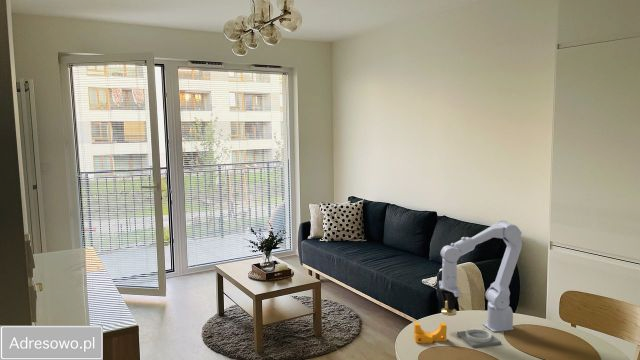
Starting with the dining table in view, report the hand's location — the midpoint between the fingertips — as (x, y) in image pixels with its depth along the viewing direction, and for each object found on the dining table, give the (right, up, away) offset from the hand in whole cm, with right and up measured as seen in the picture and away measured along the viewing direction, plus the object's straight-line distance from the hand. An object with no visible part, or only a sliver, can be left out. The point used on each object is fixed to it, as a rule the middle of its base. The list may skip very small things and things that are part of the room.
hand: (448, 307), depth 193 cm
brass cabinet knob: (0, -2, 0) cm, 2 cm away
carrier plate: (+9, -10, -8) cm, 16 cm away
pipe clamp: (-10, -11, -9) cm, 17 cm away
